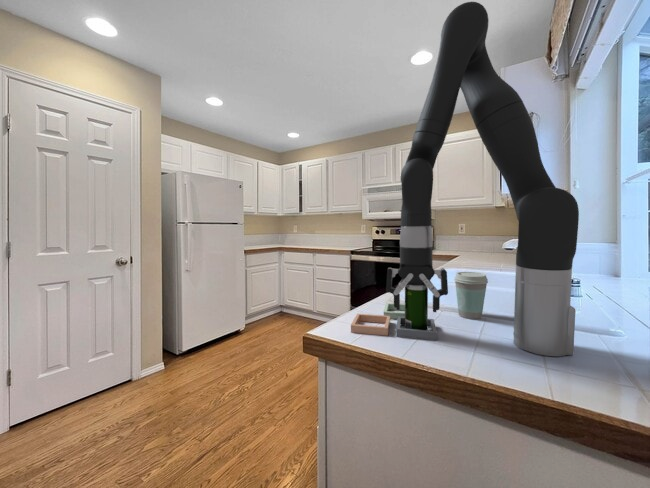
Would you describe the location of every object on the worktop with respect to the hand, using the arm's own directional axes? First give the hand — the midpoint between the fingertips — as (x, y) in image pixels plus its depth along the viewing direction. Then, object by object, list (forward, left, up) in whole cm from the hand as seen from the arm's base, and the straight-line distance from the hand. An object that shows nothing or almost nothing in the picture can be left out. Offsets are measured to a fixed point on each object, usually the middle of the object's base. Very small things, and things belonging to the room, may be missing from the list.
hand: (415, 310), depth 69 cm
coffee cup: (-15, -15, -6) cm, 22 cm away
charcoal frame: (0, 0, -5) cm, 5 cm away
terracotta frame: (+11, 0, -5) cm, 12 cm away
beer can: (0, 0, -6) cm, 6 cm away
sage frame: (+4, -12, -5) cm, 14 cm away
